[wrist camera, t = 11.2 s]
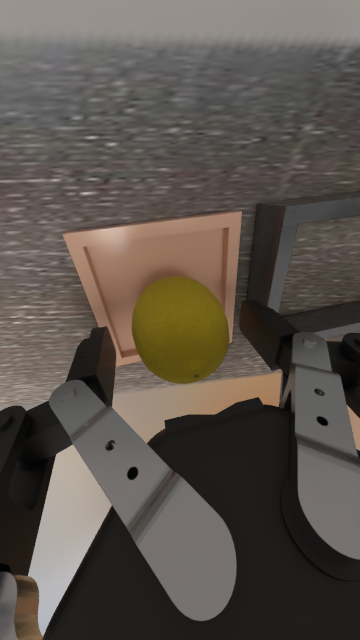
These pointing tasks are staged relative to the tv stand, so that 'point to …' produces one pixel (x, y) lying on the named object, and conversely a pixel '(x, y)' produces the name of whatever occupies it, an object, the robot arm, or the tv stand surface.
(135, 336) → the lemon
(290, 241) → the grey open box
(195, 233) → the tray
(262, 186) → the tv stand surface
